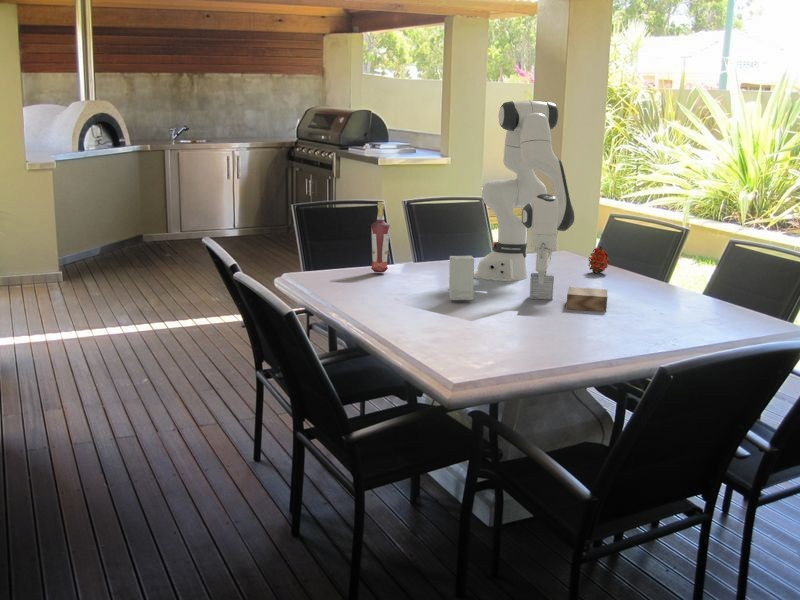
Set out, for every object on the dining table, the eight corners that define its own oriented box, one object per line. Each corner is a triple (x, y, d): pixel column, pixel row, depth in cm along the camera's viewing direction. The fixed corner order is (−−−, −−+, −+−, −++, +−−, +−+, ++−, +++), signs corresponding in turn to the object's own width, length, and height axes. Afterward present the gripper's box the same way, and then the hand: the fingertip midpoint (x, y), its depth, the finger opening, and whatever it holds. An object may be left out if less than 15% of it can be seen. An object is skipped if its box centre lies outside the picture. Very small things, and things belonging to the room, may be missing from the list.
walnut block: (566, 308, 282) (567, 294, 281) (568, 301, 294) (568, 286, 293) (606, 311, 279) (607, 296, 278) (606, 303, 292) (607, 289, 290)
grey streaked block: (551, 297, 300) (553, 273, 298) (552, 300, 295) (554, 275, 294) (529, 296, 301) (530, 272, 299) (529, 299, 296) (531, 274, 294)
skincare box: (471, 296, 298) (473, 255, 294) (473, 300, 292) (475, 258, 289) (447, 296, 297) (449, 254, 294) (449, 300, 291) (450, 257, 288)
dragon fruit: (584, 272, 352) (586, 243, 350) (605, 272, 352) (607, 244, 350) (589, 276, 344) (591, 246, 341) (610, 276, 344) (612, 247, 341)
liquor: (388, 273, 339) (389, 203, 333) (370, 272, 339) (371, 203, 333) (388, 270, 346) (390, 201, 340) (370, 269, 346) (372, 201, 340)
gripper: (551, 246, 283) (549, 286, 286) (555, 238, 302) (553, 276, 305) (532, 245, 284) (530, 285, 287) (537, 238, 304) (535, 275, 307)
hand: (542, 281), depth 296 cm, fingers open, 8 cm apart
